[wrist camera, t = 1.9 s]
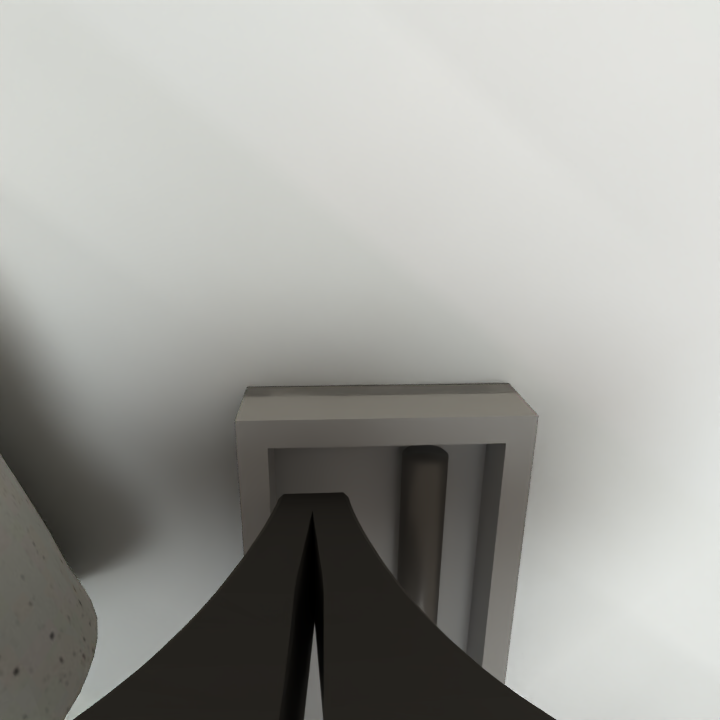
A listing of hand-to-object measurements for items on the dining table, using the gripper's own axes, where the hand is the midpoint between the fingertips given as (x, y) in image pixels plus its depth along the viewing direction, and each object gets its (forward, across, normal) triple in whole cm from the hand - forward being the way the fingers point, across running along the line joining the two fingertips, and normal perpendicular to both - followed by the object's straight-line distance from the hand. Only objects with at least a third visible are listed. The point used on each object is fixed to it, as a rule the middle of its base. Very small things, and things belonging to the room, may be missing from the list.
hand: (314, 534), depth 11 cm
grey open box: (+2, -2, +6) cm, 6 cm away
